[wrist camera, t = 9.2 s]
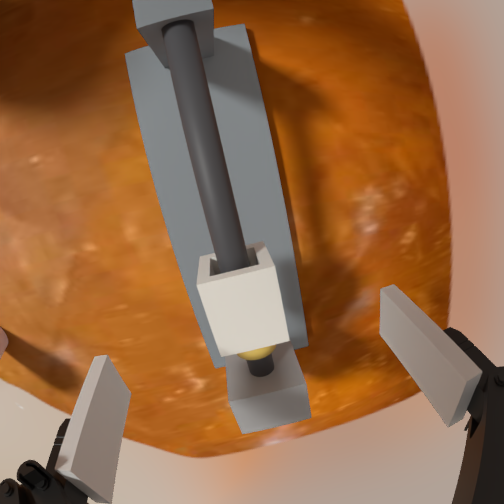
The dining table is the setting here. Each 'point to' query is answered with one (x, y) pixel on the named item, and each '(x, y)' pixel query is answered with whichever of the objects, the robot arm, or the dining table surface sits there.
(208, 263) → the sleeve
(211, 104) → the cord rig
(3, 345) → the smoothie
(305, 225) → the dining table surface
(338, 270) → the dining table surface
